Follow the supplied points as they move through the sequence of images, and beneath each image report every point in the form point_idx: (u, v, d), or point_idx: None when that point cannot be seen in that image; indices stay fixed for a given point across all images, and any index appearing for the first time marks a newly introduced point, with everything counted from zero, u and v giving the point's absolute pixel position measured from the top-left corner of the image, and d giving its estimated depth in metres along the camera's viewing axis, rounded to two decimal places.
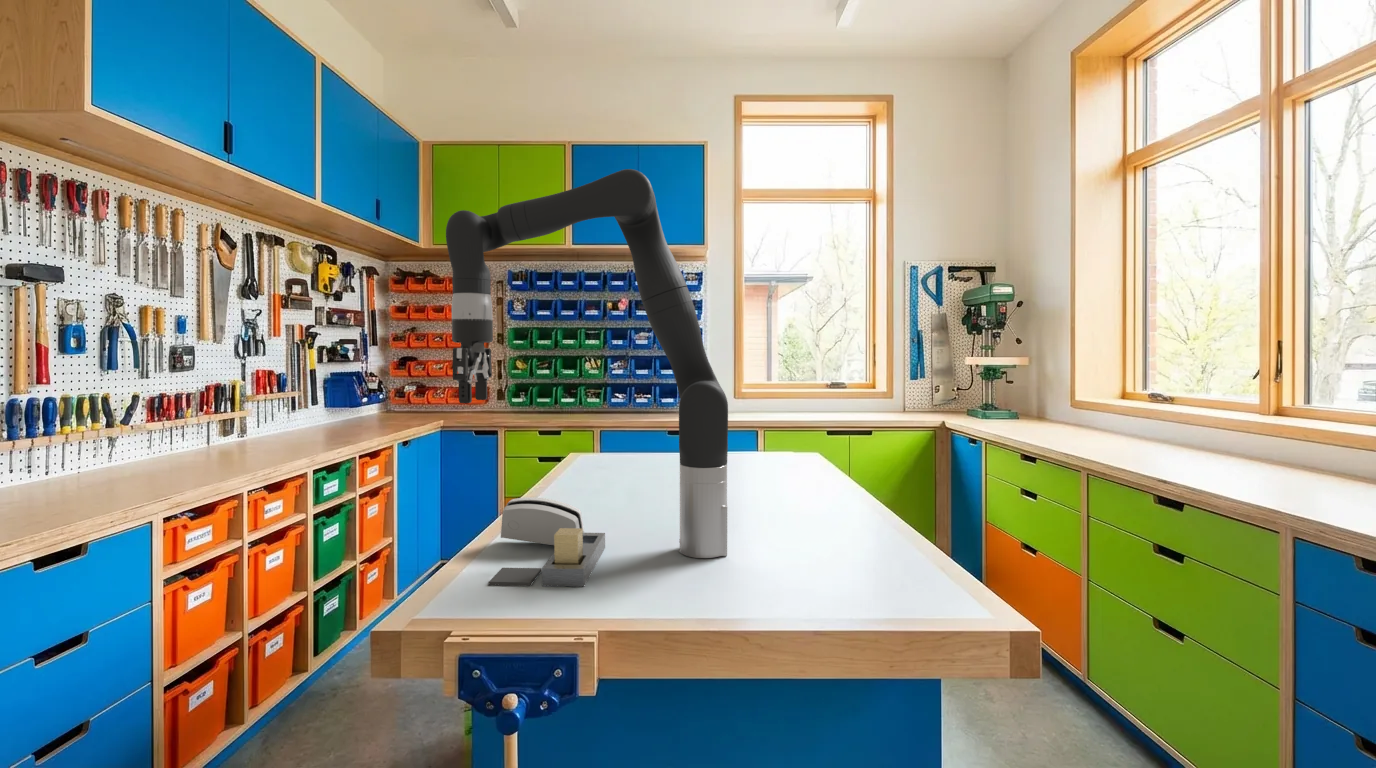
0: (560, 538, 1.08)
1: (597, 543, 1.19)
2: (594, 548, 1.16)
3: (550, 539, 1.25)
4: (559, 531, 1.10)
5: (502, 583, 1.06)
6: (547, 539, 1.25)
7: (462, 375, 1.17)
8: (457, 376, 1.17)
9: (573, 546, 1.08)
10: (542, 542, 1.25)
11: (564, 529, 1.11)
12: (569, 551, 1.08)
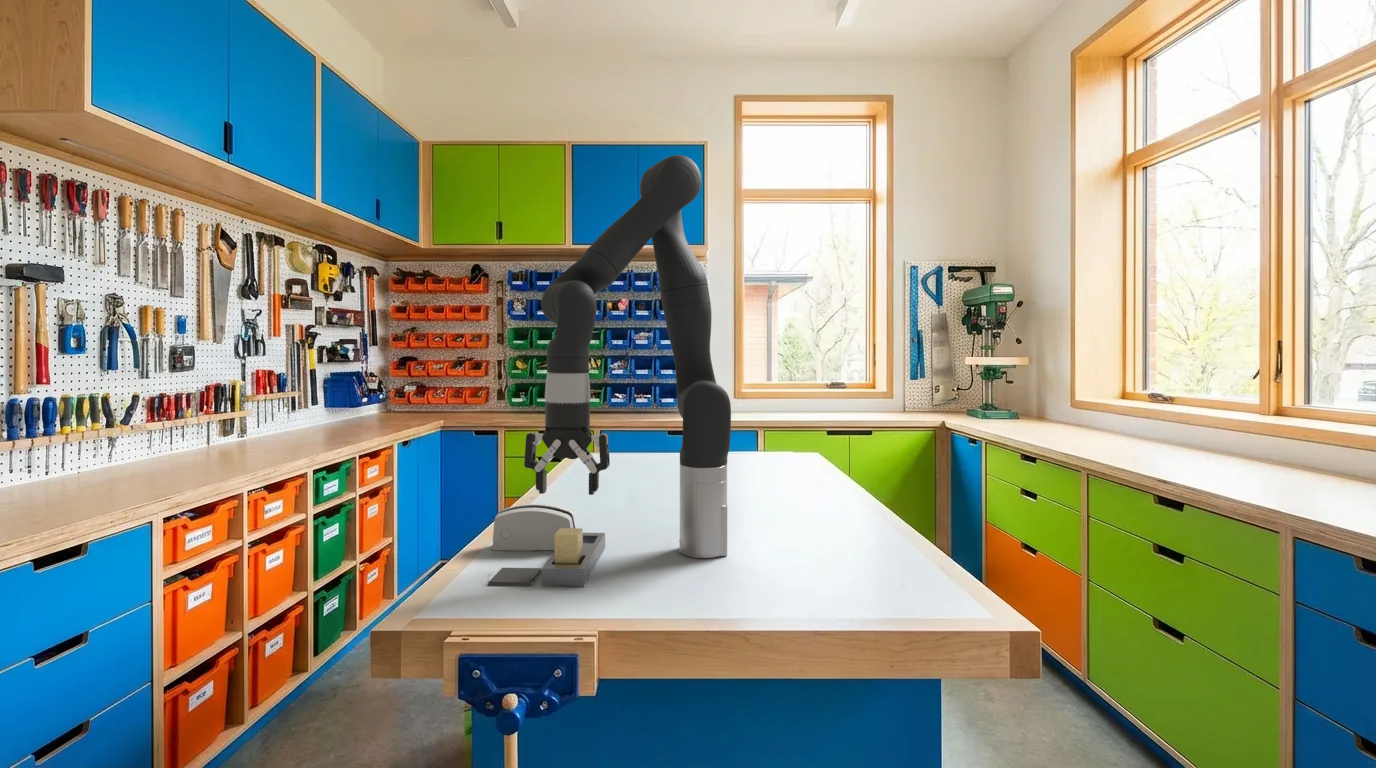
0: (560, 538, 1.08)
1: (597, 543, 1.19)
2: (594, 548, 1.16)
3: (544, 544, 1.24)
4: (559, 531, 1.10)
5: (502, 583, 1.06)
6: (541, 544, 1.24)
7: (608, 462, 1.09)
8: (607, 464, 1.08)
9: (573, 546, 1.08)
10: (536, 549, 1.24)
11: (564, 529, 1.11)
12: (569, 551, 1.08)
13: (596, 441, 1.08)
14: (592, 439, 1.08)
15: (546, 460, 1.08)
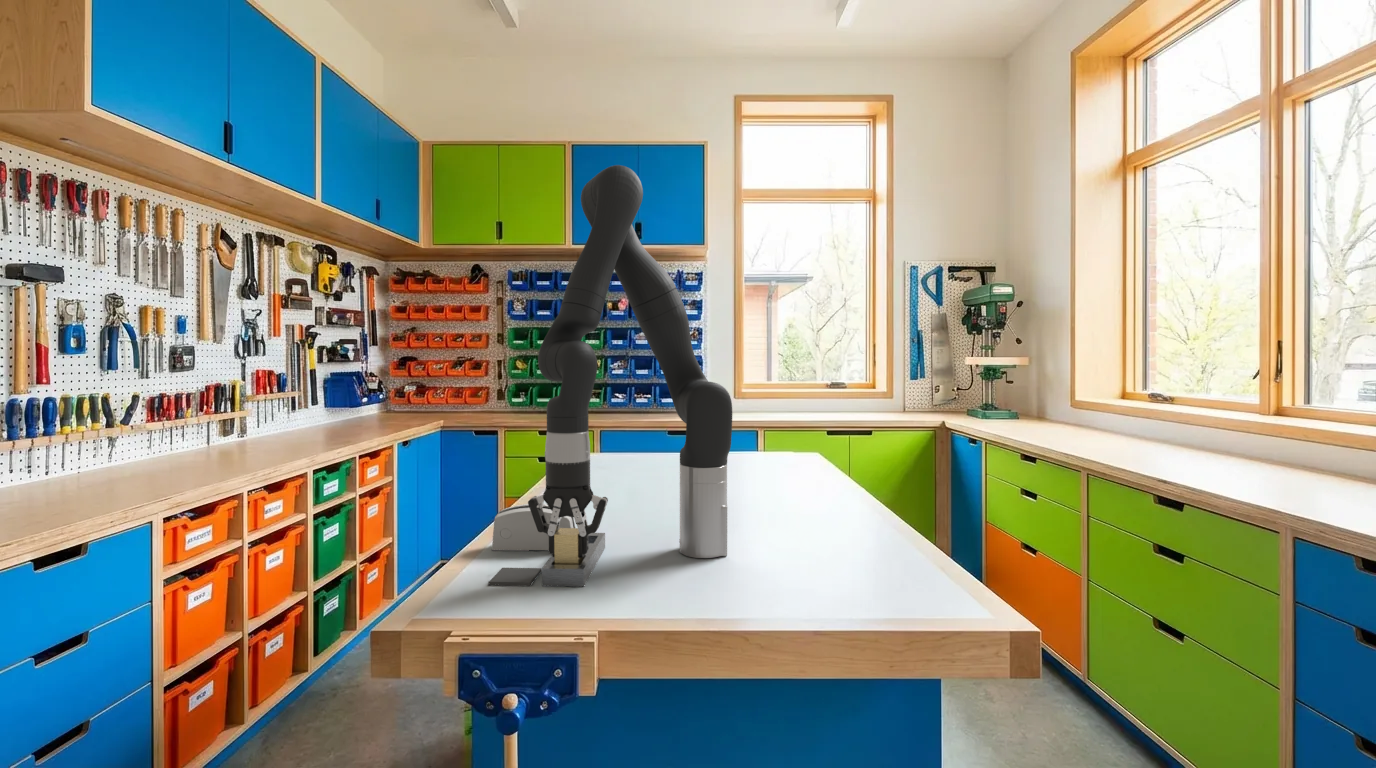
0: (560, 538, 1.08)
1: (597, 543, 1.19)
2: (594, 548, 1.16)
3: (544, 544, 1.24)
4: (559, 531, 1.10)
5: (502, 583, 1.06)
6: (541, 544, 1.24)
7: None
8: None
9: (573, 546, 1.08)
10: (535, 549, 1.24)
11: (564, 529, 1.11)
12: (569, 551, 1.08)
13: (595, 503, 1.09)
14: (592, 500, 1.09)
15: (555, 522, 1.08)
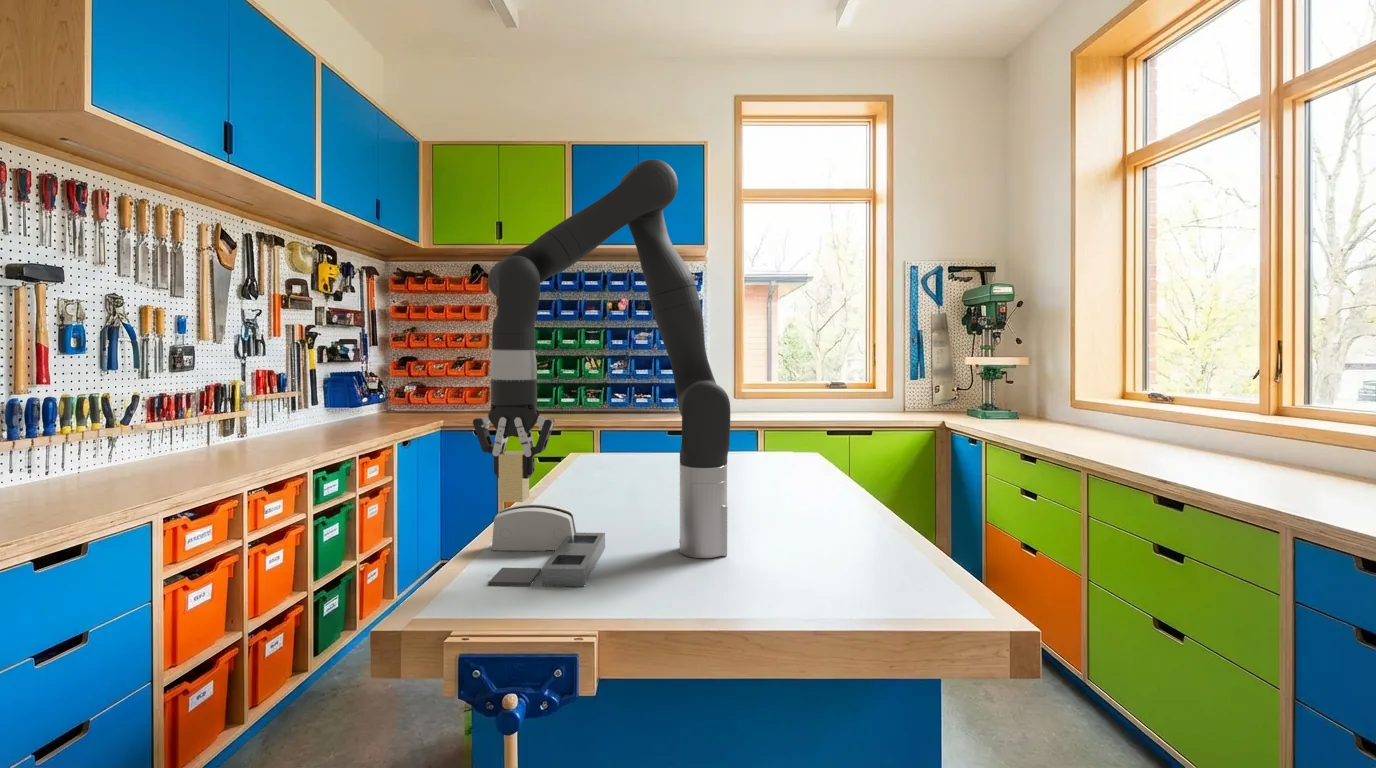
0: (504, 458, 1.06)
1: (597, 543, 1.19)
2: (594, 548, 1.16)
3: (544, 544, 1.24)
4: (504, 452, 1.08)
5: (502, 583, 1.06)
6: (540, 544, 1.24)
7: (544, 446, 1.09)
8: (542, 448, 1.08)
9: (517, 466, 1.06)
10: (535, 549, 1.24)
11: (510, 451, 1.09)
12: (513, 471, 1.06)
13: (541, 423, 1.07)
14: (538, 420, 1.07)
15: (499, 441, 1.06)
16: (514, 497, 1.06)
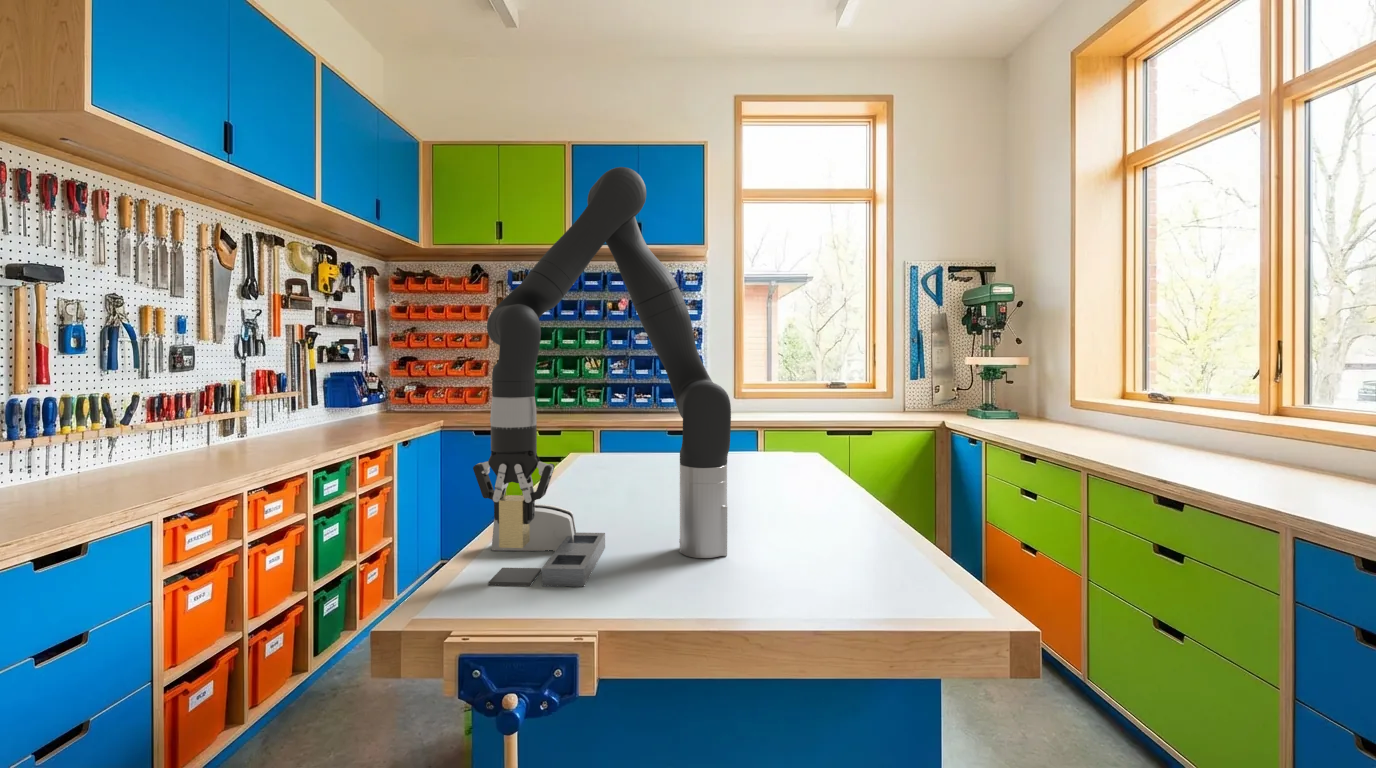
0: (504, 504, 1.07)
1: (597, 543, 1.19)
2: (594, 548, 1.16)
3: (544, 544, 1.24)
4: (505, 498, 1.09)
5: (502, 583, 1.06)
6: (540, 544, 1.24)
7: (544, 491, 1.09)
8: (542, 494, 1.08)
9: (517, 512, 1.07)
10: (535, 549, 1.24)
11: (510, 496, 1.10)
12: (513, 517, 1.07)
13: (540, 469, 1.08)
14: (537, 466, 1.08)
15: (500, 487, 1.07)
16: (514, 542, 1.07)
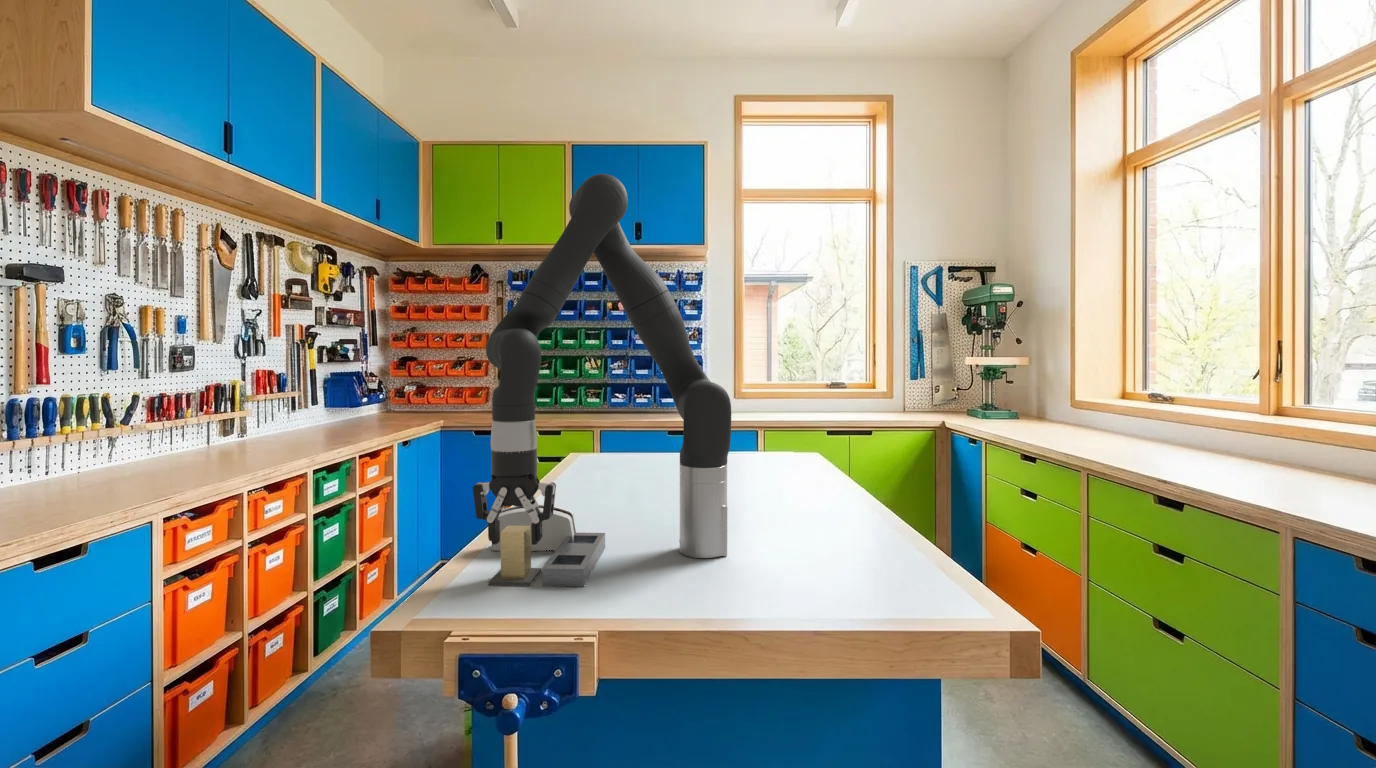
0: (506, 536, 1.07)
1: (597, 543, 1.19)
2: (594, 548, 1.16)
3: (544, 544, 1.24)
4: (506, 528, 1.09)
5: (502, 583, 1.06)
6: (540, 544, 1.24)
7: (551, 512, 1.09)
8: (550, 514, 1.08)
9: (519, 543, 1.07)
10: (535, 549, 1.24)
11: (511, 526, 1.10)
12: (515, 548, 1.07)
13: (542, 490, 1.08)
14: (539, 487, 1.08)
15: (496, 510, 1.07)
16: (516, 574, 1.07)
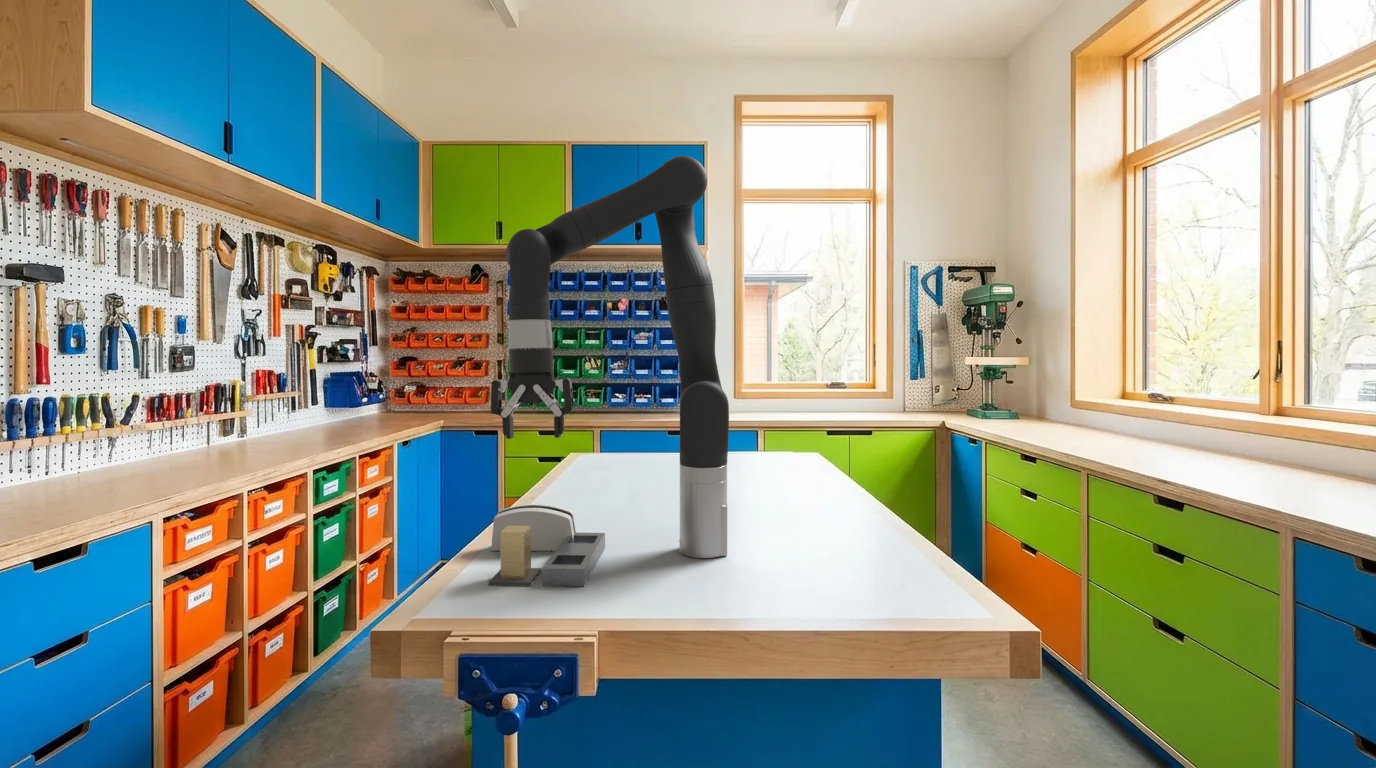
0: (506, 536, 1.07)
1: (597, 543, 1.19)
2: (594, 548, 1.16)
3: (544, 545, 1.24)
4: (506, 528, 1.09)
5: (502, 583, 1.06)
6: (540, 544, 1.24)
7: (573, 406, 1.13)
8: (572, 408, 1.12)
9: (519, 543, 1.07)
10: (535, 549, 1.24)
11: (511, 526, 1.10)
12: (515, 548, 1.07)
13: (560, 385, 1.12)
14: (556, 384, 1.12)
15: (512, 405, 1.11)
16: (516, 574, 1.07)
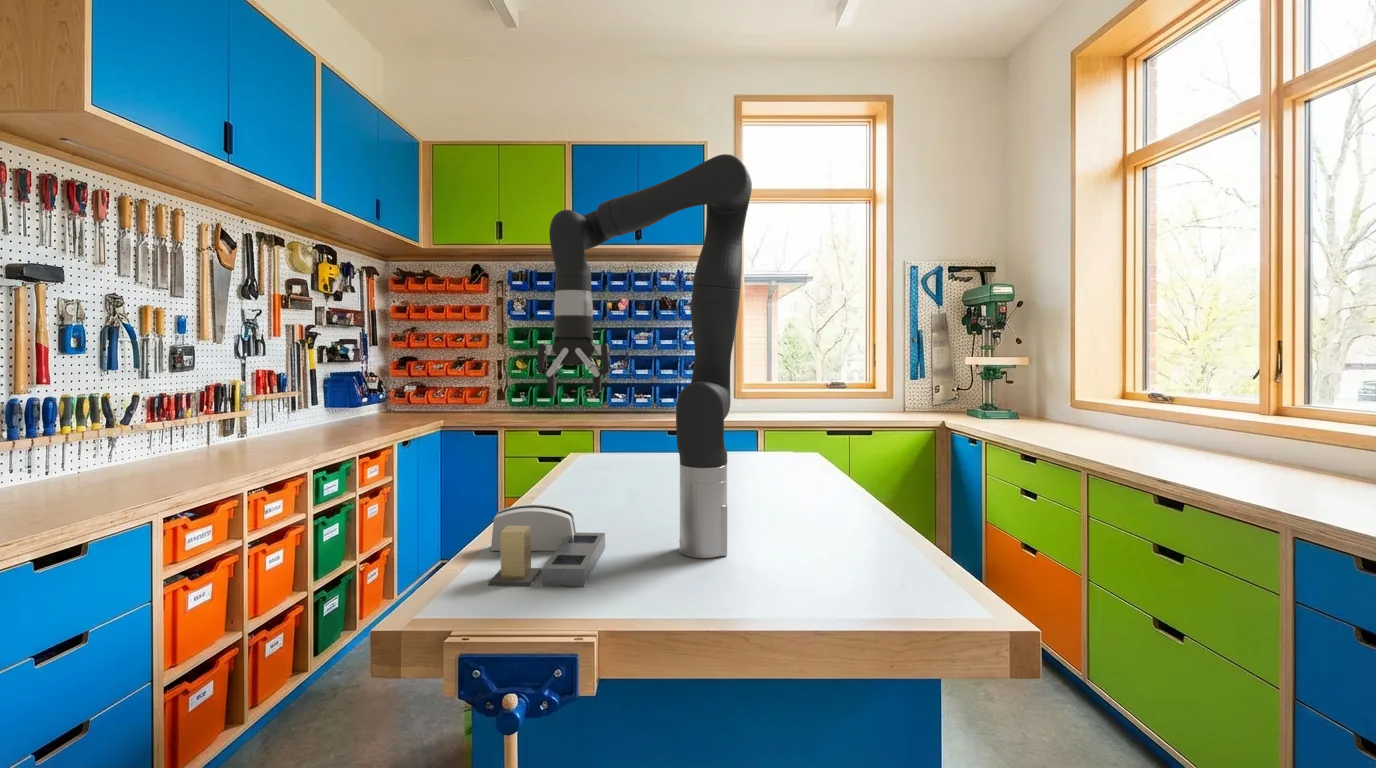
0: (506, 536, 1.07)
1: (597, 543, 1.19)
2: (594, 548, 1.16)
3: (544, 545, 1.24)
4: (506, 528, 1.09)
5: (502, 583, 1.06)
6: (540, 544, 1.24)
7: (609, 369, 1.28)
8: (608, 370, 1.27)
9: (519, 543, 1.07)
10: (535, 549, 1.24)
11: (511, 526, 1.10)
12: (515, 548, 1.07)
13: (598, 349, 1.26)
14: (595, 348, 1.26)
15: (556, 366, 1.26)
16: (516, 574, 1.07)
